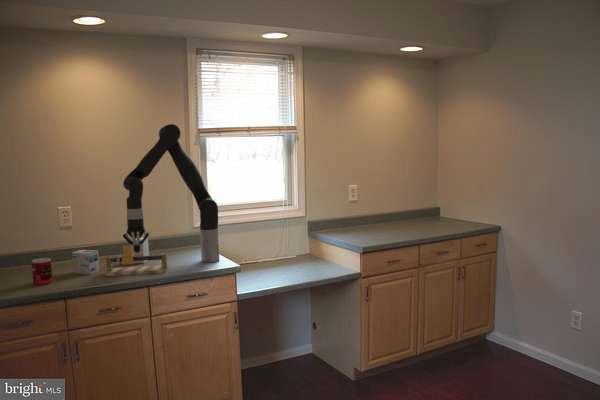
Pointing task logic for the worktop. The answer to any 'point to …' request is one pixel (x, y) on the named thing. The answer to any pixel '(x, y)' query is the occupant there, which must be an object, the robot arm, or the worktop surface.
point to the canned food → (42, 271)
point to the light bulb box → (85, 262)
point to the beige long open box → (136, 270)
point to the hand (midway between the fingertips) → (137, 252)
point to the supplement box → (141, 250)
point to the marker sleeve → (127, 255)
